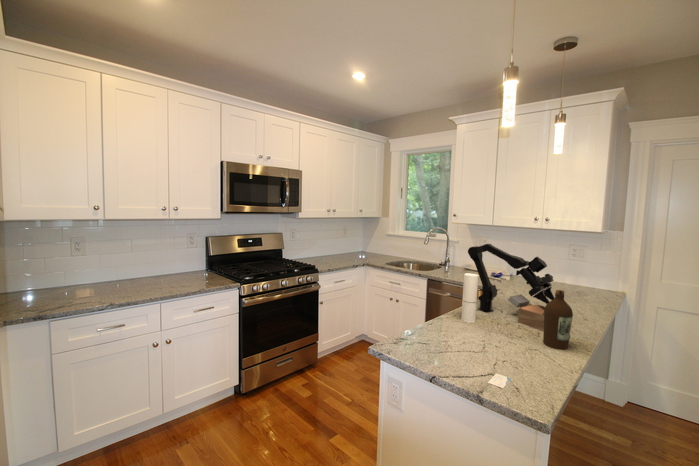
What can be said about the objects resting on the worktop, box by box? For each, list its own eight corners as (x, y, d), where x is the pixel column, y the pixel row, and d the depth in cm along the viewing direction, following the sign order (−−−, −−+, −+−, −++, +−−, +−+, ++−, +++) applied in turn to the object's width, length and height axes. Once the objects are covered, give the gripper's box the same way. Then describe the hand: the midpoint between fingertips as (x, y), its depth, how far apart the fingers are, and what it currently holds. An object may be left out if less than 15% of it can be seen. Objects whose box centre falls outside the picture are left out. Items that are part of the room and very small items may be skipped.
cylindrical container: (475, 319, 173) (478, 274, 171) (474, 323, 167) (478, 276, 165) (461, 317, 176) (464, 272, 174) (460, 321, 170) (463, 275, 168)
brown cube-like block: (534, 314, 185) (534, 306, 185) (524, 314, 185) (524, 305, 185) (529, 311, 191) (530, 303, 190) (519, 310, 191) (520, 302, 191)
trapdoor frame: (544, 331, 159) (545, 316, 158) (517, 322, 171) (518, 308, 170) (563, 326, 167) (564, 312, 167) (537, 317, 180) (538, 304, 179)
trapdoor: (541, 330, 162) (544, 326, 161) (505, 300, 179) (508, 296, 178) (556, 326, 169) (559, 322, 167) (520, 298, 186) (523, 294, 185)
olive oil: (536, 341, 147) (540, 287, 145) (555, 339, 149) (559, 287, 147) (555, 351, 136) (560, 294, 134) (575, 349, 139) (581, 293, 137)
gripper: (537, 270, 160) (560, 297, 153) (548, 267, 173) (571, 291, 166) (519, 283, 167) (541, 309, 160) (531, 278, 179) (552, 302, 172)
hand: (552, 302), depth 164 cm, fingers open, 9 cm apart
